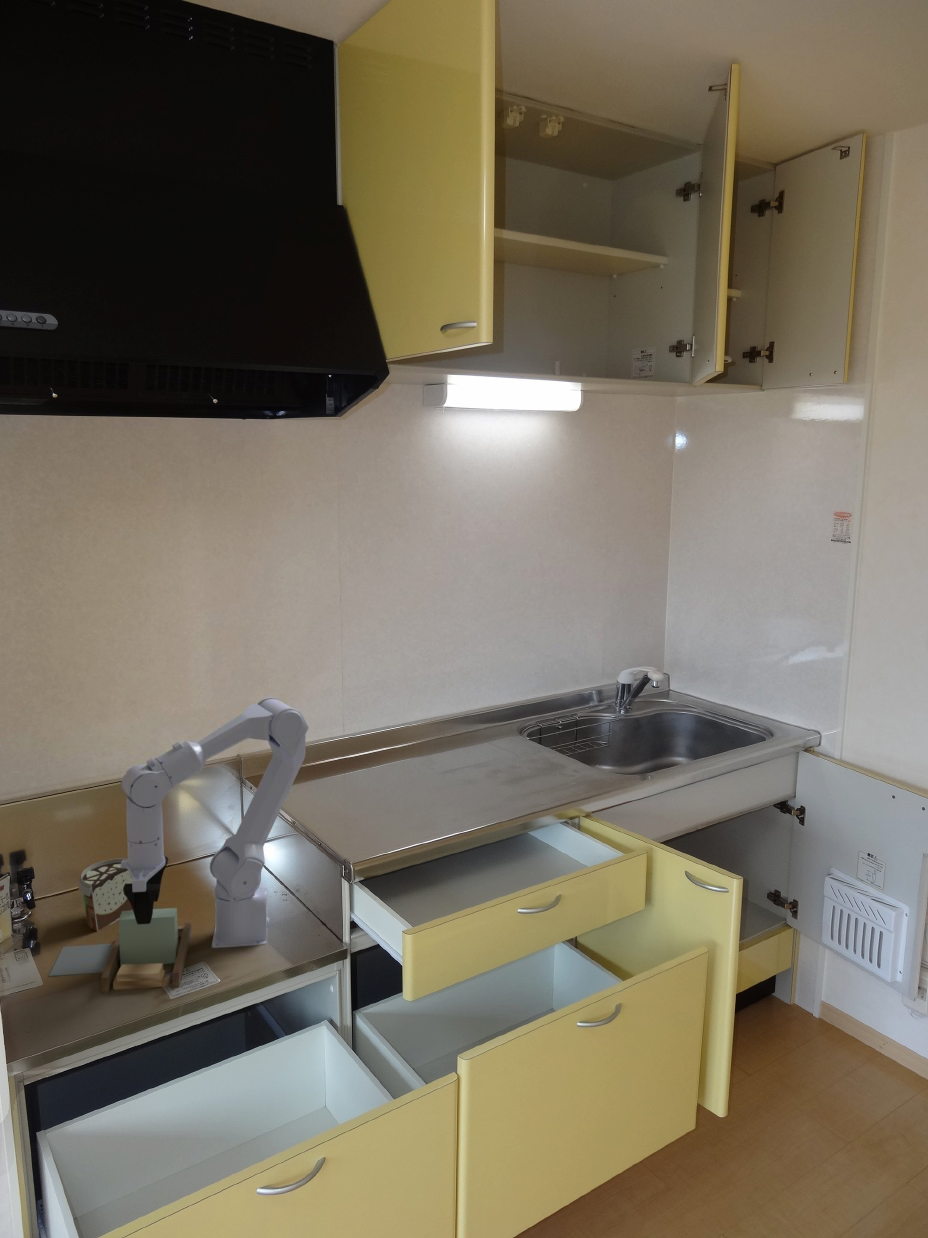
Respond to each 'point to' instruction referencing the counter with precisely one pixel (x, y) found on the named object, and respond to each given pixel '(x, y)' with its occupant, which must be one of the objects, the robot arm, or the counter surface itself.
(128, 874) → the food container
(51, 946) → the counter surface
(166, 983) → the offcut bottom
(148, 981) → the offcut middle
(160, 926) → the sage panel
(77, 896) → the counter surface
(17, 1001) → the counter surface
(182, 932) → the walnut rack
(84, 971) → the slate mat
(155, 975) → the offcut top
